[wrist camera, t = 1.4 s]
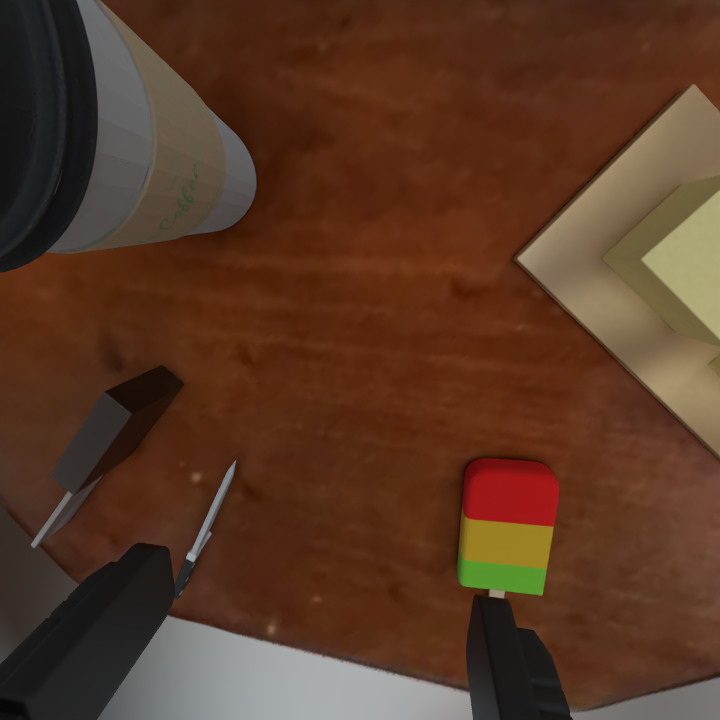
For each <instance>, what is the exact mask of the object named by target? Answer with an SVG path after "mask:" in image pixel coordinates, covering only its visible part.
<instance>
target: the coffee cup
mask: <svg viewBox="0 0 720 720" xmlns="http://www.w3.org/2000/svg"><path fill="white" fill-rule="evenodd" d="M255 192H256V172H255V167H254V164H253V161H252V159H251V156H250V154H249V152H248V150H247V148H246V147H245V145H244V143H243V142H242V141H241V140H240V138H239V137H238V136H237V135H236V134H235V133H234V132H233V131H232V130H231V129H230V128H229V127H228V126H227V125H226V124H225V123H224V122H223V121H222V120H221V119H220V118H218V117H217V116H216V115H215V114H214V113H213V112H212V111H211V110H210V109H209V108H208V107H207V106H206V105H205V103H204V102H203V101H202V99H201V98H200V97H199V96H198V94H197V93H196V92H195V90H194V89H193V88H192V87H191V86H190V85H188V84H187V83H186V82H185V81H184V80H183V79H182V78H181V77H180V76H179V75H178V74H177V73H176V72H175V71H174V70H173V69H172V68H171V67H170V66H169V65H168V64H166V63H165V62H164V61H163V60H162V59H161V58H160V57H159V56H158V55H157V54H156V53H155V52H154V51H153V50H152V49H151V48H150V47H149V46H148V45H147V44H146V43H144V42H143V41H142V40H141V39H140V38H139V37H138V36H137V35H136V34H135V33H134V32H133V31H132V30H131V29H130V28H129V27H128V26H127V25H126V24H125V23H124V22H122V21H121V20H120V19H119V18H118V17H117V16H116V15H115V14H114V13H113V12H112V11H111V10H110V9H109V8H108V7H107V6H106V5H105V4H104V3H103V2H102V1H100V0H0V273H1V272H6V271H10V270H13V269H16V268H19V267H21V266H23V265H26V264H28V263H30V262H31V261H33V260H35V259H36V258H38V257H40V256H41V255H42V254H43V253H45V252H47V253H59V254H72V253H80V252H87V251H95V250H102V249H110V248H117V247H125V246H133V245H140V244H148V243H155V242H163V241H169V240H174V239H177V238H180V237H182V236H185V235H193V234H201V233H208V232H215V231H221V230H224V229H226V228H228V227H231V226H232V225H234V224H235V223H236V222H238V221H239V220H240V219H241V218H242V217H243V216H244V215H245V214H246V212H247V211H248V209H249V208H250V206H251V204H252V202H253V199H254V197H255Z"/></svg>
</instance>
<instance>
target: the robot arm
mask: <svg viewBox="0 0 720 720" xmlns="http://www.w3.org/2000/svg"><path fill="white" fill-rule="evenodd" d="M174 595H175V586H174V579H173V572H172V565H171V559H170V552H169V549H168V548H167V547H166V546H159V545H153V544H146V543H137V544H135V545H133V546H132V547H131V548H130V549H129V550H128V551H127V552H126V553H125V554H124V555H123V556H122V557H121V558H120V559H119V560H118V561H117V562H110V563H108V564H107V565H105V566H104V567H102V568H101V569H99V570H98V571H96V572H94V573H93V574H91V575H90V576H88V577H87V578H86V579H85V580H84V581H83V582H82V583H81V584H80V585H79V586H78V587H77V588H76V589H75V590H74V591H73V592H72V593H71V594H70V595H69V596H68V599H67V600H66V601H63V602H62V603H61V604H60V605H59V606H58V607H57V608H56V609H55V610H54V611H53V612H52V613H51V616H50V617H49V618H46V619H45V620H44V621H43V622H42V623H41V624H40V625H39V626H38V627H37V628H36V629H35V630H34V631H33V632H32V633H31V634H30V635H29V636H28V637H27V638H26V639H25V640H24V641H23V642H22V643H21V644H20V645H19V646H18V647H17V648H16V649H15V650H14V651H13V652H12V653H11V654H10V655H9V656H8V657H7V658H6V659H5V660H4V661H3V662H2V663H1V664H0V720H97V719H98V717H99V716H100V714H101V713H102V711H103V710H104V708H105V707H106V705H107V704H108V702H109V701H110V699H111V698H112V697H113V695H114V693H115V692H116V691H117V689H118V688H119V686H120V685H121V683H122V682H123V680H124V679H125V677H126V676H127V674H128V673H129V671H130V670H131V668H132V667H133V665H134V664H135V663H136V661H137V660H138V658H139V657H140V655H141V654H142V652H143V651H144V649H145V648H146V646H147V645H148V643H149V642H150V640H151V639H152V637H153V636H154V634H155V633H156V632H157V630H158V629H159V627H160V626H161V624H162V623H163V621H164V620H165V618H166V617H167V615H168V613H169V611H170V609H171V606H172V604H173V600H174ZM466 660H467V673H468V681H469V689H470V697H471V706H472V714H473V720H573V719H572V717H570V710H569V707H568V704H567V701H566V698H565V695H564V692H563V691H562V689H561V683H560V680H559V677H558V674H557V671H556V668H555V665H554V662H553V659H552V656H551V654H550V653H549V652H548V650H547V649H546V647H545V646H544V644H543V643H542V641H541V640H540V639H539V637H538V636H537V634H536V633H535V631H534V630H529V629H523V628H517V627H516V623H515V620H514V616H513V612H512V608H511V605H510V603H509V601H508V599H504V598H497V597H491V596H484V595H477V594H475V596H474V599H473V605H472V611H471V617H470V624H469V630H468V636H467V646H466Z"/></svg>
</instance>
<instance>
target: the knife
mask: <svg viewBox="0 0 720 720" xmlns="http://www.w3.org/2000/svg"><path fill="white" fill-rule="evenodd" d="M235 465H236V460H235V462H234V463H233V464H232V466H231V467H230V468H229V470H228V472H227V474H226V476H225V478H224V480H223V482H222V484H221V486H220V489H219V491H218V493H217V495H216V497H215V499H214V502H213V504H212V506H211V508H210V510H209V513H208V515H207V517H206V519H205V522H204V524H203V526H202V528H201V531H200V533H199V535H198V537H197V540H196V542H195V544H194V546H193V547H192V548H191V550H190V551H189V553H188V555H187V557H186V559H185V562H184V564H183V566H182V568H181V571H180V573H179V575H178V577H177V579H176V582H175V584H174V586H175V595H174V598H175V599H178V598H179V597H180V595H181V593H182V592H183V590H184V589H185V587H186V585H187V583H188V579H189V577H190V575H191V573H192V571H193V568H194V566H195V564H196V561H197V559H198V556H199V554H200V552H201V550H202V548H203V547H204V545H205V544H206V542H207V540H208V539H209V537H210V536H211V534H212V533H211V532H209V530H210V528H211V526H212V524H213V521H214V519H215V517H216V515H217V512H218V510H219V508H220V506H221V503H222V501H223V499H224V496H225V494H226V492H227V489H228V487H229V485H230V483H231V480H232V478H233V476H234V470H235Z"/></svg>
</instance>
